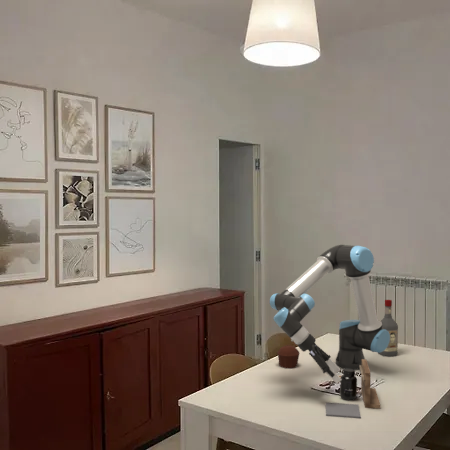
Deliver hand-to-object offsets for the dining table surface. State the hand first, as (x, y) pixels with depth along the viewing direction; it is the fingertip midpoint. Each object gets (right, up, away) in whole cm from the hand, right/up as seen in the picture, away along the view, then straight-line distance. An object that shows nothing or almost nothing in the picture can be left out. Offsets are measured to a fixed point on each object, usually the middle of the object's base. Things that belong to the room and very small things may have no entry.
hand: (338, 376), depth 225 cm
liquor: (+41, -7, +68) cm, 80 cm away
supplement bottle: (+4, -9, 0) cm, 10 cm away
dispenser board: (+13, -9, -1) cm, 16 cm away
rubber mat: (-1, -10, -14) cm, 17 cm away
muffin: (-16, -8, +46) cm, 49 cm away
